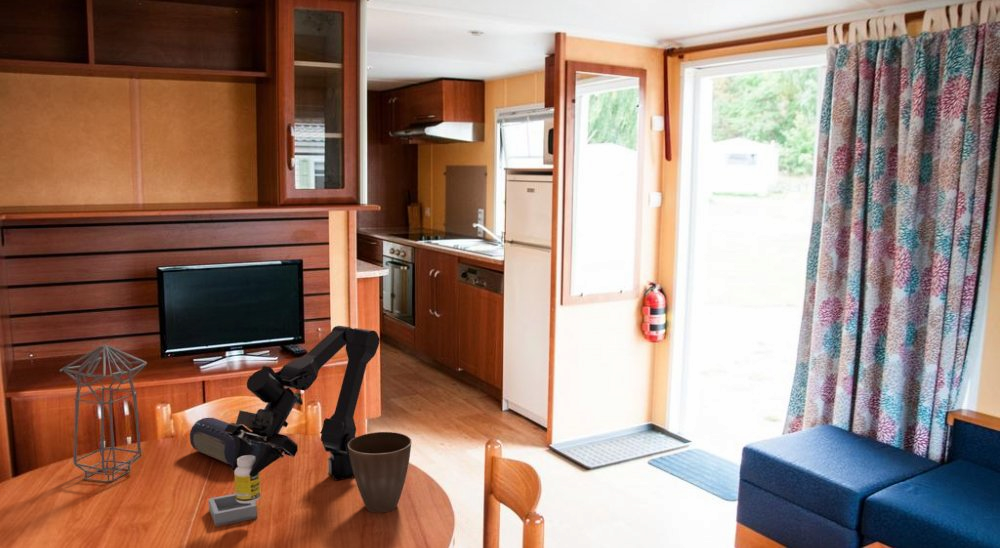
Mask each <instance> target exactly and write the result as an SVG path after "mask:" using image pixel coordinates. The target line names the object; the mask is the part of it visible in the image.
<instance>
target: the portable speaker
mask: <svg viewBox="0 0 1000 548" xmlns="http://www.w3.org/2000/svg"><path fill="white" fill-rule="evenodd" d="M228 424H230V423H229V422H226V421H224V420H221V419H219V418H215V417H203V418H201V419H199V420H197V421H196V422H195V423H194V424H193V426H192V427H191V429H190V432H189V441H190V445H191V447H192V448H193V449H194V450H195V451H197V452H199V453H202V454H204V455H206V456H208V457H210V458H211V457H212V458H214V459H216V460H219V461H221V462H223V463H225V464H229V465H231V466H232V464H233V459H234V454H235V441H234V439H232V438H231V437H230V436H229V435H227V434H226V433H225V432H224V431H225V429H226V427H227V426H228ZM258 439H259V438H258ZM250 445H251V446H252V447H253V448H255V449H254V450H253V452H252V453H251V454H250V455H253V456H255V458H256V459H257V457H258V455H259V453H260V443H258V442H254V441H252V443H251V444H250Z"/></svg>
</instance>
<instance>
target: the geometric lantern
mask: <svg viewBox="0 0 1000 548" xmlns="http://www.w3.org/2000/svg"><path fill="white" fill-rule="evenodd" d="M102 351H103V352H102ZM101 353H102V354H103V355H102V357H101V356H100V355H101ZM125 357H127V358H130V359H132V360H134V361H131V362H130V361H129V360H128V359H127V358H125ZM86 358H87V359H86ZM84 359H86V360H85V361H83V363H81V365H75V364H77V363H78V362H81V361H82V360H84ZM101 360H102V369H103V370H102V374H101V373H100V374H94V372H95V370H96V369H97V367H98V365H99V363H100V362H101ZM106 360H107V361H106ZM106 362H108V367H109V374H110V375H106V372H107V371H106V370H107V369H106V368H107V367H106ZM118 363H120V364H121V368H120V367H119V366H118ZM126 364H127V365H129V367H128V366H127V365H126ZM134 364H135V365H136V364H140V365H138V366H135V367H133V365H134ZM147 364H148V363H147V361H146V360H143V359H140V358H139V357H136V356H134V355H131V354H130V353H127V352H124V351H122V350H121V349H117V348H115V347H113V346H111V345H108V344H101V345H100V346H98V347H97V348H94V349H93V350H91V351H89V352H88V353H86V354H84V355H83V356H81V357H79V358H77V359H76V360H74V361H72V362H71V363H69V364H67V365H65V366H64V367H62V368H60V369H59V373H62V372H64V373H65V374H67V376H69V377H70V378H71V379H72V380H74V382H76V385H77V386H76V387H77V388H76V395H75V398H74V399H73V400H74V443H73V444H74V445H73V458H72V459H73V460H72V461H73V465H74V466H75V467H77V468H78V469H79V470H82V471H83V472H84V478H83V479H84V480H85V481H89V482H90V481H92V482H99V483H100V482H102V483H111V482H114V481H115V480H117V479H119V478H121V477H123V476H124V475H127V474H128V473H130V472H131V465H133V464H134V463H135V462H136V461H138V460H139V459H140V458H142V456H143V455H142V447H141V446H142V445H141V437H140V430H139V427H140V426H139V415H138V401H137V392H136V389H135V385H134V382H133V379H134V378H135V377H136V376H137V374H138V373H139V372H141V371H142V369H144V368H145V366H147ZM73 365H75V366H73ZM111 365H113V366H114V368H115V369H116V371H117V372H112V367H111ZM86 367H87V371H86V372H85V373H84V372H82V371H84V369H85V368H86ZM132 367H133V368H132ZM124 368H125V369H126V370H127V371H126V370H124ZM74 369H78V370H74ZM72 374H74V375H75V376H74V375H72ZM132 374H133V375H132ZM123 375H128V376H129V377H128V379H126V380H124V381H123ZM87 377H88V378H91V377H93V378H94V380H92V381H91V382H89V383H88V382H87ZM106 377H107V378H110V377H111V378H114V379H113V380H112V382H111V383H110V385H109V386H108V387H105V386H104V385H103V384H102V382H100V381H99V380H101V379H103V378H106ZM119 377H120V378H119ZM82 378H83V379H84V383H82V382H81V380H82ZM116 381H117V382H118V383H119V384H118V386H117V387H116V388H113V385H114V383H116ZM96 382H98V384H99V385H100V386H101V387H100V388H98V389H93V387H92V386H91V385H93V384H95V383H96ZM126 383H129V386H130V389H129V390H128V389H121V388H120V387H121V385H124V384H126ZM82 386H86V387H88V389H89V391H88V392H86V393H82V394H80V393H81V390H82ZM107 390H109V392H108V393H109V394H108V395H109V399H108V401H105V391H107ZM98 391H101V399H100V397H99V396H98V395H97V393H96V392H98ZM112 391H114V392H113V393H112ZM117 391H121V392H126V393H127V392H128V393H132V394H129V395H124V396H123V397H121V398H118V399H115V400H113V397H114V395H116V393H117ZM89 394H93V395H94V397H95V398H96V400H97V401H93V400H86V399H80V398H81V397H83V396H86V395H89ZM129 397H132V401H133V408H134V409H133V410H134V418H135V429H136V441H137V442H136V444H137V450H134V449H133V450H132V449H125V448H119V447H115V437H114V436H115V435H114V426H113V425H114V424H113V403H115V402H118V401H121V400H123V399H126V398H129ZM80 402H86V403H90V404H91V403H92V404H99V405H100V415H101V416H100V420H101V421H100V441H99V443H100V448H99V449H96V450H94V451H91V452H90V453H87V454H84V455H83V456H80V457H78V458H77V456H78V455H77V452H78V429H79V428H78V427H79V412H80V411H79V410H80ZM104 405H108V412H109V413H108V414H109V425H110V443H111V444H110V447H105V430H104V429H105V427H104V426H105V425H104V424H105V423H104V421H105V419H104V418H105V417H104V413H105V411H104V408H105V406H104ZM107 450H109V452H108V454H107V457H106V459H105V451H107ZM116 451H121V452H128V453H134V454H135V455H134V456H133V457H132V458H130V459H129V460H126V461H119V460H116ZM99 452H100V453H99ZM97 453H99V454H100V456H101V460H100V461H99V462H97V463H95V464H94V465H88V464H83V463H78V462H79V461H80V460H83V459H84V458H87V457H90V456H91V455H94V454H97ZM111 453H112V460H109V459H110V456H111ZM109 463H113V466H109ZM118 463H119V464H118ZM100 464H101V467H96V466H98V465H100ZM105 465H106V466H105ZM124 465H125V466H124ZM121 466H123V467H121ZM85 468H86V469H85ZM91 469H92V470H95V471H91ZM109 470H112V471H111V473H109V472H107V471H109ZM123 470H124V471H126V472H124V473H122V474H120V475H118V476H117V477H115V474H116V473H118V472H120V471H123ZM100 471H101V472H100ZM102 472H103V473H102ZM88 473H89V475H88ZM94 474H97V475H102V476H107V480H106V479H105V480H104V479H94V478H89V477H91V476H93V475H94ZM110 476H111V477H112V479H110Z"/></svg>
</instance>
